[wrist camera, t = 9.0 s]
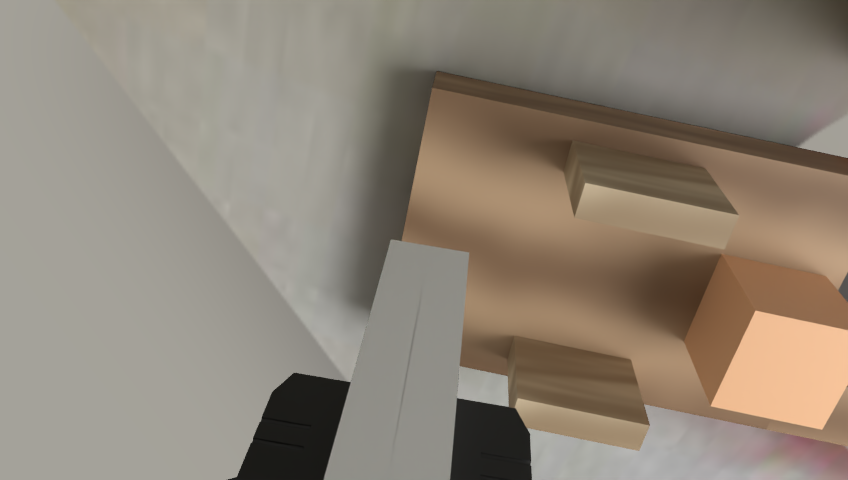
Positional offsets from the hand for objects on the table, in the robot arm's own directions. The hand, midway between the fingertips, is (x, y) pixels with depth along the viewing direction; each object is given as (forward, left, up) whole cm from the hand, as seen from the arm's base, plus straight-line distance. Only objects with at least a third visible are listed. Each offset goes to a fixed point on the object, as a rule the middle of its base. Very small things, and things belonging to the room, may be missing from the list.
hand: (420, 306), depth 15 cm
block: (+8, +16, -19) cm, 27 cm away
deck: (+8, +13, -22) cm, 27 cm away
